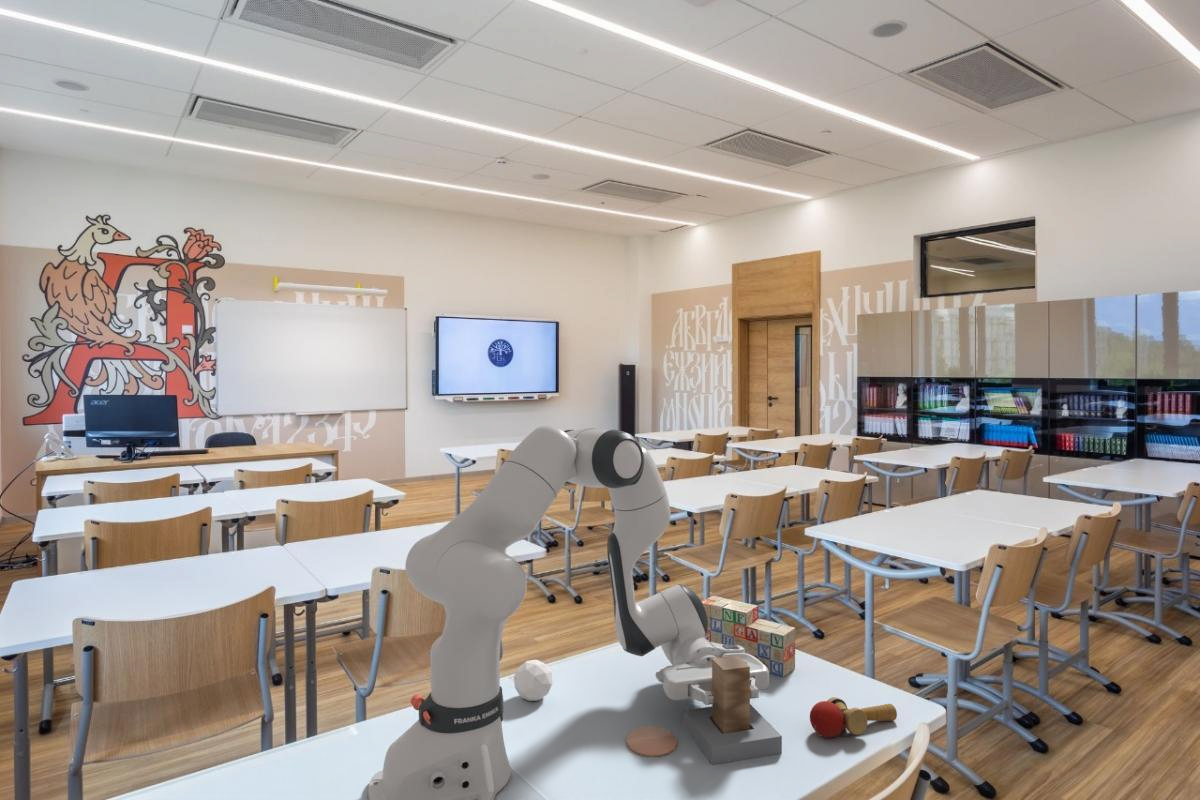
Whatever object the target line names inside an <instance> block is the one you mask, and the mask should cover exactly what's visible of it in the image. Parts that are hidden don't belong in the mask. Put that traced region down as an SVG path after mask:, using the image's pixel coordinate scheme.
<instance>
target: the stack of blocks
mask: <svg viewBox="0 0 1200 800" xmlns="http://www.w3.org/2000/svg"><path fill="white" fill-rule="evenodd" d="M701 602H702V604H703V606H704V608H705V611H706V614H707V619H708V627H707V633H706V635H705V638H706V640H708V641H709V642H714V643H718V644H723V645H739V646H742V647H743V648H744V649H745V653H747V654H750V655H752V656H754V657H755V658H757V659H758V660H759V661H761V662H762V663H763V664H764V665H765V666H766V667H767V668H768V671H769V674H770V675H771V674H772V675H775V676H778V677H782V678H784V677H785V676H787V675H789V673H791V672H792V671H793V670H795V668H796V627H793V626H791V625H786V624H781V623H779V622H775V621H774V622H773V621H770V620H766V619H761V618H759V616H760V615H759V605H757V604H751V603H749V602H744V601H739V600H734V599H729V598H724V597H720V596H716V595H711V596H709V597H708V598H706V599H704V600H701Z"/></svg>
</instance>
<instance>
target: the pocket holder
mask: <svg viewBox="0 0 1200 800" xmlns="http://www.w3.org/2000/svg"><path fill="white" fill-rule="evenodd" d="M683 727H684V728H685V730H686V731H687V732H688V734H689V735H690V737H691V738H692V740H693V741H694V742H695V743H696V745H697V746H698V748H699V749H700V750H701V752H702V753H703V754H704V755H705V757H706V758H707V760H708V761H709V762H710V764H711V765H717V764H723V763H729V762H736V761H742V760H747V759H749V760H750V759H753V758H760V757H766V756H773V755H778V754H779V755H780V754H782V753H783V750H782V749H783V738H782V737H783V736H782V734H780V732H778V731H777V730H776V728H775V727H773V725H771V724H770V723H769V721H767V720H766V719H765V717H764V716H763V715H762V714H761V713H760V712H759V711H758V710H757V709H756V708H755V707H754V706H753V705H752V704H751V703H750V730H745V731H738V732H732V733H725V734H722V733H721V732H720V731H719V730H718V728H717V727H716V726H715V725H714V723H713V722H712V705H711V706H705V707H698V708H691V709H684V710H683Z"/></svg>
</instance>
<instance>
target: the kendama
mask: <svg viewBox="0 0 1200 800" xmlns="http://www.w3.org/2000/svg"><path fill="white" fill-rule="evenodd" d="M897 712H898V711H897V709H896V707H895V706H894V705H893V704H892V703H885V704H881V705H875V706H868V707H867V706H866V707H862V708H858V707H852V708H848V706H847V704H846V701H844V700H843V699H841V698H839V697H836V696H832V697H829V698H828V699H827V700H826V701H825V700H822V701H819V702H817V703H815V704H814V705H813V706H812V708H811V710H810V712H809V722H810V725H811V726H812V729H813V730H814V731H815V732H816V733H817V734H818V736H820V737H822V738H828V739H829V738H830V739H831V738H835V737H837V736H839V735H841V733H842V732H843V730H844V729H846V730H847V731H848V732H849V733H851V735H852V734H853V735H856V736H857V735H858V736H859V735H862V734H863V733H864V732H865V730H866V729H867V727H868V722H869V721H870V722H871V721H872V722H873V721H875V722H876V721H879V722H881V721H882V722H883V721H884V722H885V721H886V722H893V721H896V720H897V717H898V713H897Z"/></svg>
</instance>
